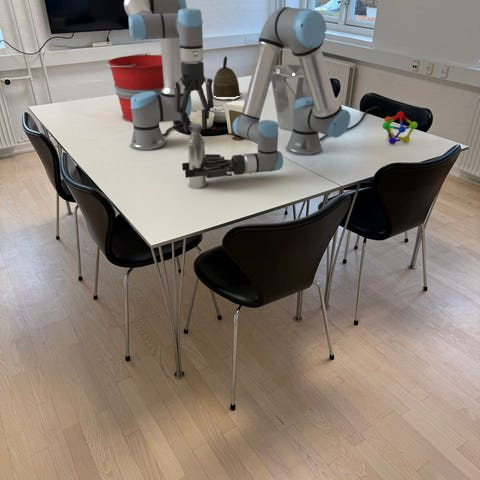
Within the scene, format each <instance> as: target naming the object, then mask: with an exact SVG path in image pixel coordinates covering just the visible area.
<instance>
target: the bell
mask: <svg viewBox="0 0 480 480" xmlns="http://www.w3.org/2000/svg"><path fill="white" fill-rule="evenodd" d="M227 63H228V57H227V56H224V58H223V63H222V67H221V68H219V69H218V70H217V71H216V73H215V75H214V78H213V82H212V94H213V95H214V96H216V97H236V96H240V95H241V96H242V93H241V92H240V83H239V80H238V79H239V78H238V77H237V75H236V73H235V72H234V70H232V69H231V68H230V67H227Z"/></svg>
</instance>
